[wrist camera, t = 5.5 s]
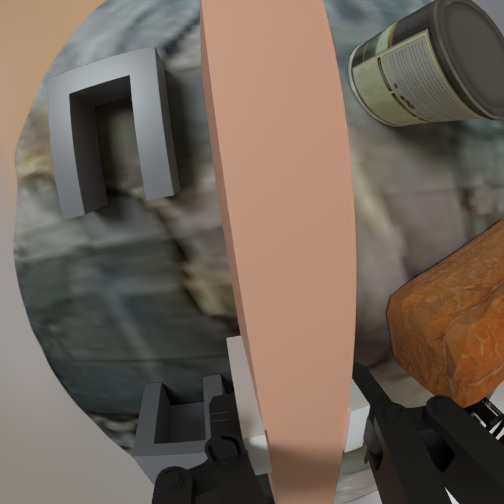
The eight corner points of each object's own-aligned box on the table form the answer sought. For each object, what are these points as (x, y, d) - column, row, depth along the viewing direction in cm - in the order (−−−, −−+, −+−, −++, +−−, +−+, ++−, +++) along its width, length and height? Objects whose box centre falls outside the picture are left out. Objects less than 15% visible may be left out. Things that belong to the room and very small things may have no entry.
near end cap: (180, 189, 26) (173, 195, 20) (90, 208, 25) (63, 220, 20) (164, 69, 23) (154, 45, 17) (75, 93, 22) (47, 79, 16)
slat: (302, 465, 20) (326, 530, 14) (267, 473, 20) (285, 541, 13) (267, 63, 12) (319, -11, 5) (201, 69, 12) (200, -11, 5)
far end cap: (229, 408, 34) (240, 479, 23) (161, 417, 33) (155, 486, 23) (220, 374, 32) (229, 449, 22) (145, 383, 31) (132, 456, 21)
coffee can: (345, 29, 24) (424, -30, 10) (421, 56, 25) (509, 29, 12) (345, 117, 26) (444, 93, 13) (423, 136, 28) (523, 136, 15)
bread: (508, 284, 37) (569, 318, 23) (394, 370, 37) (452, 439, 22) (506, 209, 33) (581, 233, 19) (379, 291, 32) (465, 361, 18)
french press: (473, 400, 46) (531, 460, 24) (441, 426, 46) (496, 494, 24) (476, 370, 42) (548, 436, 20) (440, 400, 42) (509, 478, 20)
